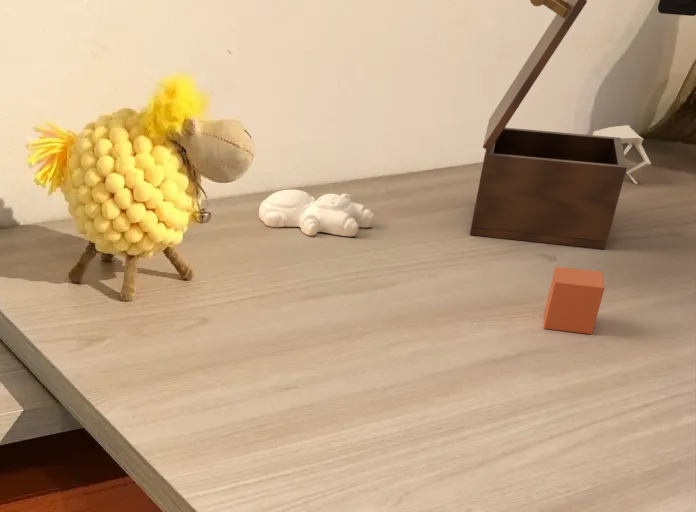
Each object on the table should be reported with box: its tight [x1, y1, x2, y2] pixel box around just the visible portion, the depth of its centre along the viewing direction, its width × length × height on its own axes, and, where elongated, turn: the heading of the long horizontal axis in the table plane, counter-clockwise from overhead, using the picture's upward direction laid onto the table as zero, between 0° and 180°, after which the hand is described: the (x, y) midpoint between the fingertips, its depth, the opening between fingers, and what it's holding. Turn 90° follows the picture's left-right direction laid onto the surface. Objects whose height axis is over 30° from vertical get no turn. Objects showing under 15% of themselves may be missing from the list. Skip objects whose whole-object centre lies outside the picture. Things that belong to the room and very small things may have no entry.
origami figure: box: [592, 124, 652, 185], centre depth 126 cm, size 12×8×5 cm
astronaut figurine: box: [258, 189, 375, 237], centre depth 109 cm, size 9×12×3 cm
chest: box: [469, 127, 628, 250], centre depth 109 cm, size 14×13×8 cm
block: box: [543, 266, 605, 335], centre depth 88 cm, size 4×4×4 cm
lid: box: [482, 0, 588, 151], centre depth 102 cm, size 14×13×5 cm
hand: (673, 5), depth 88 cm, fingers open, 9 cm apart
